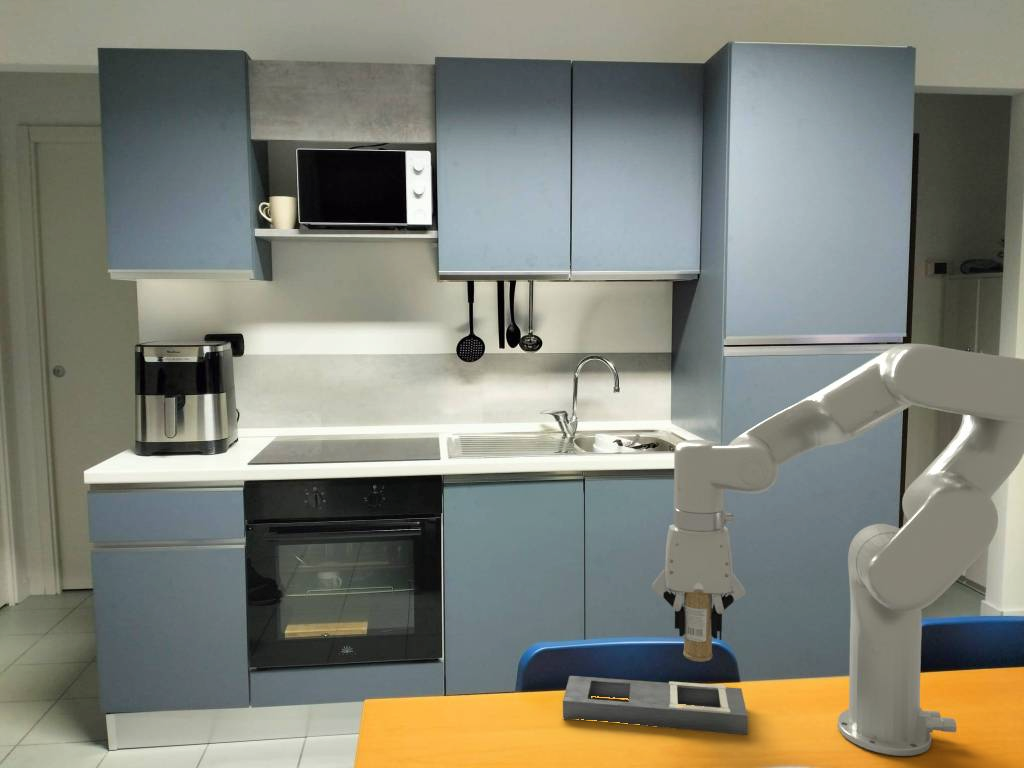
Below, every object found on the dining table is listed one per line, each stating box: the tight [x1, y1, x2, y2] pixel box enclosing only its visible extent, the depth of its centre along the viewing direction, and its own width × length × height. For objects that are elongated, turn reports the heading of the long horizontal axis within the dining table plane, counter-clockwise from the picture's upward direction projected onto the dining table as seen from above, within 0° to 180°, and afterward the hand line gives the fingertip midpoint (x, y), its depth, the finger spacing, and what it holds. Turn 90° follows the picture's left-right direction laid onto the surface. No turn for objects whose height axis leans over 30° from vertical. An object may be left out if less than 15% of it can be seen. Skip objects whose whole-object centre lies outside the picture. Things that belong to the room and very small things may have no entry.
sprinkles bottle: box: [682, 583, 713, 663], centre depth 119 cm, size 5×5×13 cm
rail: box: [562, 675, 748, 736], centre depth 122 cm, size 28×9×3 cm, turn 79°
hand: (697, 632), depth 120 cm, fingers closed on sprinkles bottle, 4 cm apart
